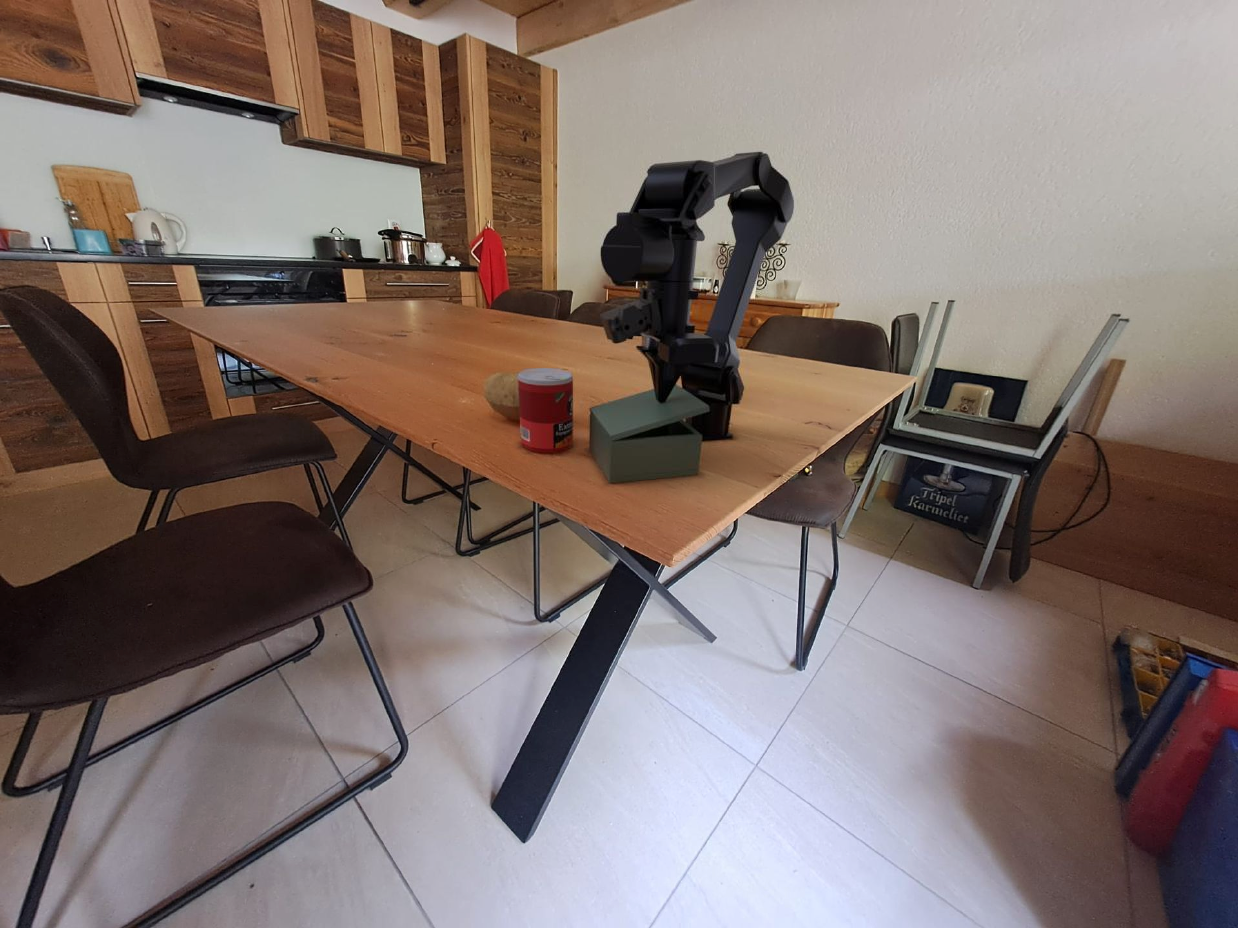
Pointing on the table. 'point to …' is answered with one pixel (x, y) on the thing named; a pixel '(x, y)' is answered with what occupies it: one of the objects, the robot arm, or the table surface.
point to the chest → (647, 452)
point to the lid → (645, 412)
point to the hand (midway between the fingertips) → (660, 401)
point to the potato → (503, 394)
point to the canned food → (546, 409)
